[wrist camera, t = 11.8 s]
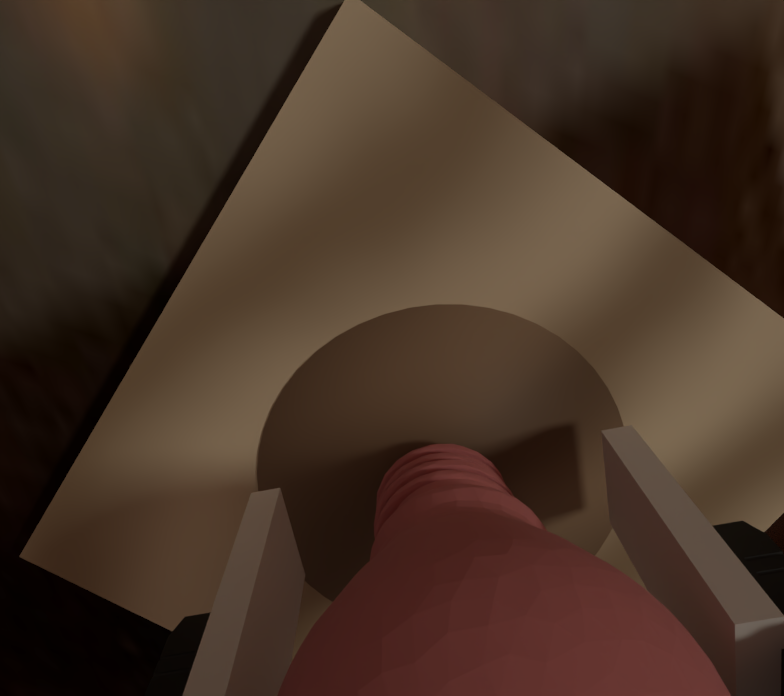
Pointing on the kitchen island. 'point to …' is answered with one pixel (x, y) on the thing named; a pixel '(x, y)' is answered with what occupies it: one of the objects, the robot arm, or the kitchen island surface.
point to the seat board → (412, 344)
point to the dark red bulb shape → (488, 604)
